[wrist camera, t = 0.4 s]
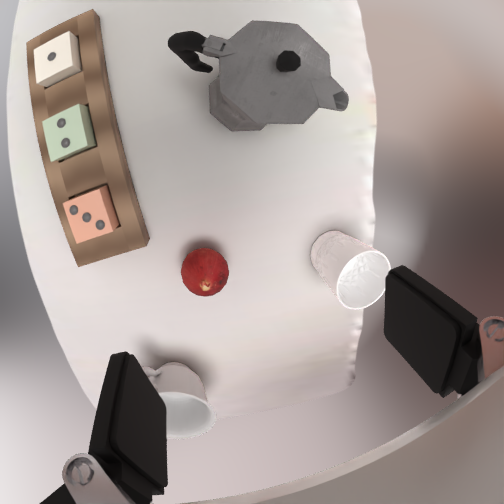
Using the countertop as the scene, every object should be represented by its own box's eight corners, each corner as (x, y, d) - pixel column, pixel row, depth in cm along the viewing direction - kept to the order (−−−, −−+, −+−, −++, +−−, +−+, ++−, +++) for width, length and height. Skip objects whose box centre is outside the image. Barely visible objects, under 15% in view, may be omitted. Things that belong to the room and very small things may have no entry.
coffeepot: (304, 86, 33) (386, 54, 16) (280, 149, 36) (351, 158, 19) (191, 45, 28) (192, -30, 12) (163, 111, 31) (135, 80, 15)
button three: (72, 197, 30) (61, 203, 27) (107, 184, 31) (98, 189, 27) (85, 235, 32) (76, 244, 29) (119, 223, 32) (112, 232, 29)
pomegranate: (229, 244, 39) (238, 269, 31) (220, 282, 41) (226, 314, 33) (186, 236, 37) (184, 260, 30) (178, 276, 39) (176, 306, 32)
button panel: (36, 47, 23) (26, 42, 20) (99, 17, 24) (93, 9, 21) (85, 258, 35) (78, 267, 33) (149, 238, 36) (146, 246, 34)
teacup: (176, 322, 41) (174, 368, 32) (222, 381, 47) (231, 425, 38) (115, 351, 41) (104, 395, 32) (166, 403, 47) (166, 446, 38)
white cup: (328, 215, 40) (365, 238, 31) (362, 244, 43) (400, 270, 34) (295, 260, 42) (323, 293, 32) (332, 284, 44) (363, 318, 35)
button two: (53, 122, 26) (41, 121, 23) (88, 106, 27) (78, 103, 24) (62, 159, 28) (50, 162, 25) (96, 145, 29) (87, 145, 25)
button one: (44, 55, 22) (33, 49, 19) (78, 38, 23) (68, 30, 20) (48, 87, 24) (35, 83, 21) (82, 70, 25) (72, 64, 22)
